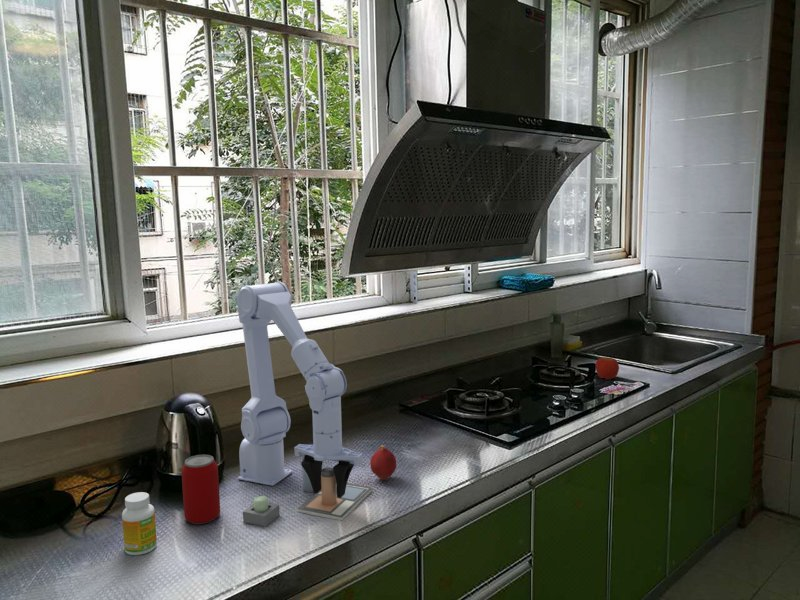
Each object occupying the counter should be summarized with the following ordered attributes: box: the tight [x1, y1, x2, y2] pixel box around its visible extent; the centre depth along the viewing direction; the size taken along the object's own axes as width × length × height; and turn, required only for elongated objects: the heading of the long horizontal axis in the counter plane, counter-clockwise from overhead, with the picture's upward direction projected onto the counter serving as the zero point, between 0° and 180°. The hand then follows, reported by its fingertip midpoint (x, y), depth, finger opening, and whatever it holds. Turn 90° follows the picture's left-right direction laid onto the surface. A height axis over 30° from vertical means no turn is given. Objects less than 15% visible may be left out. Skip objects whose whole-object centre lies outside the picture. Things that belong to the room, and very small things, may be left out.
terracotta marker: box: [321, 466, 337, 506], centre depth 128 cm, size 3×3×7 cm
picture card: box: [296, 482, 373, 521], centre depth 130 cm, size 10×14×1 cm
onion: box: [369, 445, 397, 481], centre depth 140 cm, size 6×6×8 cm
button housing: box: [242, 501, 281, 528], centre depth 123 cm, size 5×5×2 cm
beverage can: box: [181, 454, 221, 525], centre depth 123 cm, size 7×7×12 cm
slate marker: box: [301, 456, 314, 493], centre depth 136 cm, size 3×3×7 cm
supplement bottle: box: [121, 491, 158, 556], centre depth 113 cm, size 5×5×10 cm
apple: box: [595, 356, 620, 380], centre depth 220 cm, size 8×8×8 cm
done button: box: [253, 495, 269, 513], centre depth 123 cm, size 3×3×3 cm
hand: (329, 493), depth 128 cm, fingers open, 5 cm apart
